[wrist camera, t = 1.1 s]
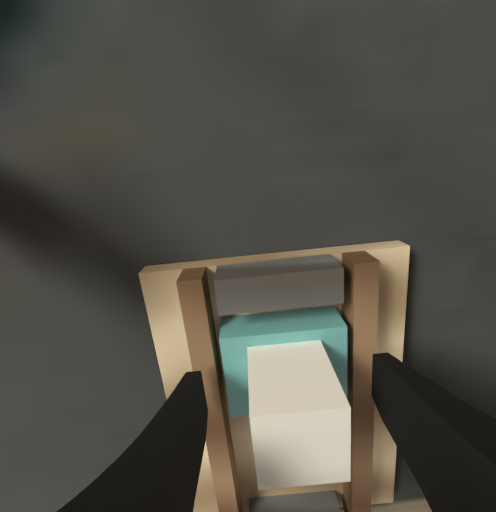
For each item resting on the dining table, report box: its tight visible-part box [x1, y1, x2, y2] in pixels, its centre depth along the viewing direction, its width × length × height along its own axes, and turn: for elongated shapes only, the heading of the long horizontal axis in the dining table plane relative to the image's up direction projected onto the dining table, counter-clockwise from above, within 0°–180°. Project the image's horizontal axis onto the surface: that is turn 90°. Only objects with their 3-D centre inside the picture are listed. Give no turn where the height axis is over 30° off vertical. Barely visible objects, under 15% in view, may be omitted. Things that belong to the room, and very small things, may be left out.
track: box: [138, 240, 410, 512], centre depth 15 cm, size 16×12×3 cm
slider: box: [219, 306, 351, 490], centre depth 12 cm, size 4×5×5 cm
